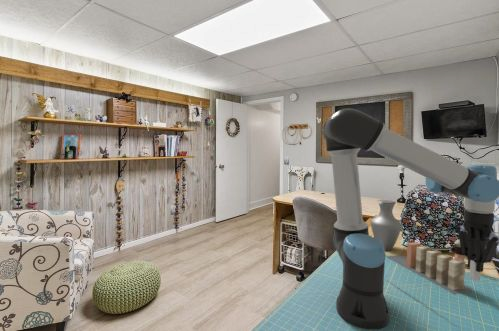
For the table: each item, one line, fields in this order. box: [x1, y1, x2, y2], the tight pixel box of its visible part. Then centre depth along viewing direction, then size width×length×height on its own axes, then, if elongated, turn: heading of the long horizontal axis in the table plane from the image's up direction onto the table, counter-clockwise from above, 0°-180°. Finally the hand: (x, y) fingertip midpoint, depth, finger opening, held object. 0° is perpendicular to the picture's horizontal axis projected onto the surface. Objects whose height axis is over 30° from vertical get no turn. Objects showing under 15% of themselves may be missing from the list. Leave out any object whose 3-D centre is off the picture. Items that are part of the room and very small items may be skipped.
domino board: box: [385, 254, 474, 295], centre depth 105 cm, size 9×32×1 cm, turn 14°
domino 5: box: [448, 259, 466, 290], centre depth 92 cm, size 5×2×10 cm, turn 104°
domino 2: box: [416, 245, 432, 273], centre depth 105 cm, size 5×2×10 cm, turn 104°
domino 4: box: [436, 254, 454, 284], centre depth 96 cm, size 5×2×10 cm, turn 104°
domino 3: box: [425, 249, 442, 278], centre depth 101 cm, size 5×2×10 cm, turn 104°
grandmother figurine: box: [449, 238, 468, 261], centre depth 110 cm, size 8×4×13 cm, turn 27°
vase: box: [370, 199, 403, 251], centre depth 132 cm, size 14×14×25 cm
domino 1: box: [406, 242, 422, 268], centre depth 110 cm, size 5×2×10 cm, turn 104°
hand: (474, 279), depth 86 cm, fingers closed
